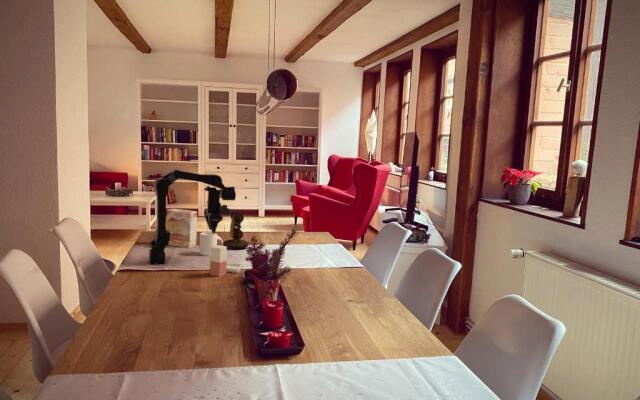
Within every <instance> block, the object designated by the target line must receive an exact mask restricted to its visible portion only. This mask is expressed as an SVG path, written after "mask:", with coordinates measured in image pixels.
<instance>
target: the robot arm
mask: <svg viewBox="0 0 640 400" xmlns="http://www.w3.org/2000/svg"><path fill="white" fill-rule="evenodd" d="M178 179H181V180H187V181H192V182H193V181H194V182H199V183H204V184H206V185H207V186H206V187H205V188H203V190H204V191H205V192H207V201H206V204H207V208H205V209H204V210H203V215H204V218H205V221H206V224H207V227H208V230H210V231H211V232H212V233H216V232H217V228H218V225H219V223H220V222H222V221H223V219H224V217H223V215H226V216H230V215H231V213H232V212H231V211H232V209H230V208H228V205H226V204H223V205H222V203H221V200H222V201H235V200H236V197H237V194H236V188H235V187H236V186H235V187H234V186H225V184H224V183H223V179H222V177H221V176H220V175H219V174H214V173H203V174H201V173H194V172H190V171H184V170H180V169H173V170H171V172H169V173H167V174H165V175H163V176H162V177H158V178H156V179H155V180H154V182H153V188H154V193H155V197H156V228H155V233H154V237H153V239H152V241H150V242H149V244H148V246H149V249H148V251H149V252H148V260H147V262H148V264H149V265H161V264H163V265H164V264H165V263H166V252H165V249H166V247H168V246H169V245H168V244H169V241H171V240H170V232H169V231H168V230H166V227H167V196H168V193H169V188H170V186H171V185H173V184H174V183H175V182H176V181H177V180H178ZM210 186H212V187H210ZM217 188H218V189H217ZM221 213H222V214H223V215H222V214H221Z"/></svg>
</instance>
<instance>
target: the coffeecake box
mask: <svg viewBox="0 0 640 400" xmlns="http://www.w3.org/2000/svg"><path fill="white" fill-rule="evenodd" d="M197 222H198V211H196V210H188V209H179V208H171V209H170V208H169V209H166V230H168V231H169V232H170V240H171V241H169V244H168V245H167V246H173V247H179V248H189V249H190V248H193V247H196V246H197V230H198V229H197V228H198V227H197V224H198V223H197Z"/></svg>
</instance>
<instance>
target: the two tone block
mask: <svg viewBox="0 0 640 400" xmlns="http://www.w3.org/2000/svg"><path fill="white" fill-rule="evenodd" d="M227 249H228V247H227V246H222V245H218V244H217V245H216V246H212V247H211V254H210V256H209V257H210V260H209V261H210V262H209V275H210V276H215V277H222V276H224V275H226V273H227V272H226V263H227V251H228V250H227Z"/></svg>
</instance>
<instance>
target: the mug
mask: <svg viewBox="0 0 640 400" xmlns="http://www.w3.org/2000/svg"><path fill="white" fill-rule="evenodd" d="M219 240H220V241H221V246H223V242H224V241H223V239H222V237H220V236H219V235H218V233H217V232H215V233H212V231H207V232H206V231H204V232H200V234H199V255H201V256H205V257H207V256H208V257H210V254H211V247H212V246H216V245H218V241H219Z"/></svg>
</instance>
